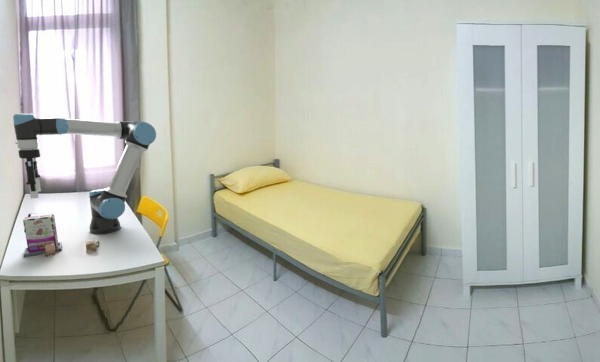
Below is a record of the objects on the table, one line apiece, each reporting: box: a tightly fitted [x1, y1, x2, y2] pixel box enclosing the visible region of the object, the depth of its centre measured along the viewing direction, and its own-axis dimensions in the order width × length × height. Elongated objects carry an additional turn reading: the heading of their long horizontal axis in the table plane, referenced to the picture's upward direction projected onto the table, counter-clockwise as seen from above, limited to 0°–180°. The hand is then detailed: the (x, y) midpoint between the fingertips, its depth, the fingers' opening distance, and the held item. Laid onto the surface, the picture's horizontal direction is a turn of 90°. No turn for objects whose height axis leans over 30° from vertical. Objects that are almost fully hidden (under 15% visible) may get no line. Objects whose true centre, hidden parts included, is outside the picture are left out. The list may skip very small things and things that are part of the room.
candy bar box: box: [22, 214, 59, 253], centre depth 160 cm, size 11×5×16 cm, turn 115°
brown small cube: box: [45, 243, 57, 257], centre depth 157 cm, size 4×4×5 cm
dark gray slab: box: [95, 240, 100, 248], centre depth 170 cm, size 4×6×1 cm, turn 28°
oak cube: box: [85, 240, 97, 253], centre depth 163 cm, size 4×4×4 cm
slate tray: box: [23, 241, 63, 258], centre depth 162 cm, size 14×8×2 cm, turn 123°
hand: (36, 194), depth 156 cm, fingers open, 13 cm apart
